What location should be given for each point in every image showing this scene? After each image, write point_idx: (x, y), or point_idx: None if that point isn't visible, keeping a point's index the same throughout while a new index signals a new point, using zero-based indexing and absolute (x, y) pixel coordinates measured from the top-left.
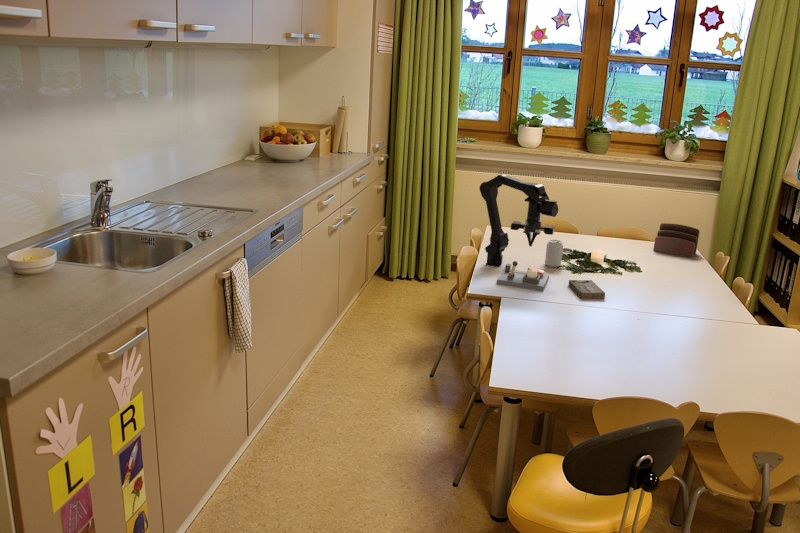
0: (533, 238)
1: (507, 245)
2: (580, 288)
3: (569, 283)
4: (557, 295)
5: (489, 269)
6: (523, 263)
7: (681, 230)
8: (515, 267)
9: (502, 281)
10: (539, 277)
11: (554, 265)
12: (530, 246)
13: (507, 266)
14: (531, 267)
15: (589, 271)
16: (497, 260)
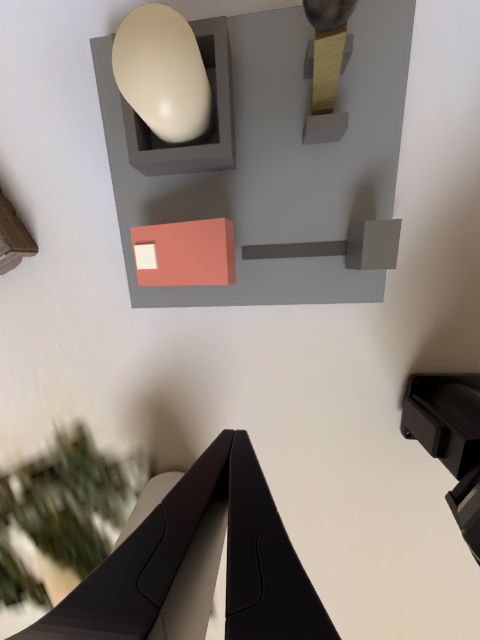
0: (150, 541)
1: (464, 526)
2: None
3: (16, 235)
4: (22, 29)
5: (461, 311)
6: (297, 471)
7: None
8: (314, 58)
9: (369, 3)
10: (121, 103)
11: (161, 474)
12: (233, 430)
13: (381, 220)
14: (209, 260)
15: (41, 472)
16: (445, 402)
